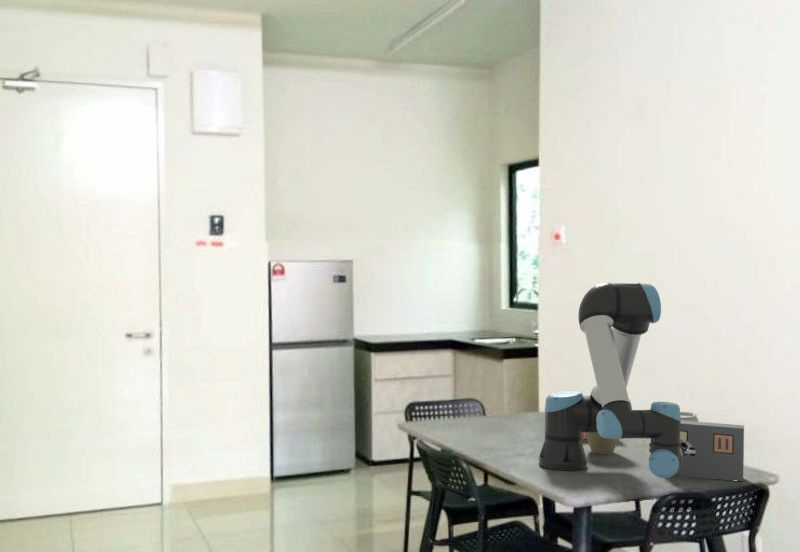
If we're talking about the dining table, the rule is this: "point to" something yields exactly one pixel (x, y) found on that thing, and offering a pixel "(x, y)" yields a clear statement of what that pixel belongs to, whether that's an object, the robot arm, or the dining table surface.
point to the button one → (683, 435)
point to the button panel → (712, 452)
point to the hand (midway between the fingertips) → (677, 439)
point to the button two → (723, 443)
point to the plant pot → (600, 443)
